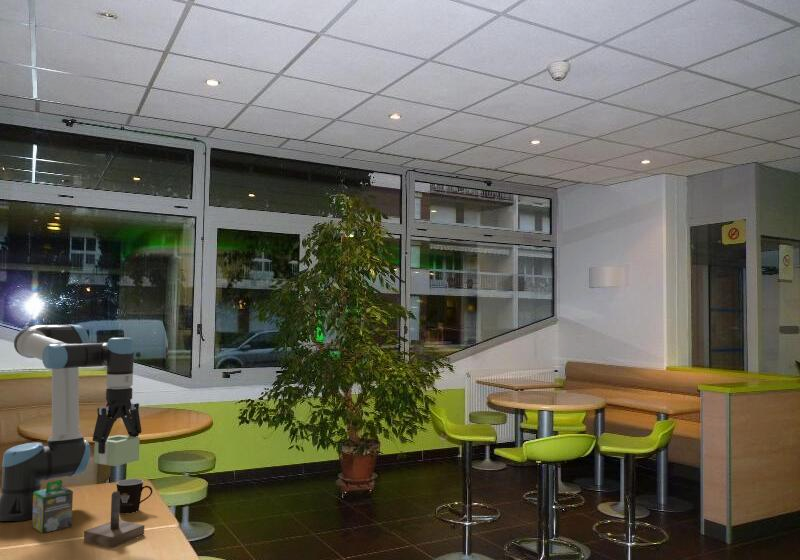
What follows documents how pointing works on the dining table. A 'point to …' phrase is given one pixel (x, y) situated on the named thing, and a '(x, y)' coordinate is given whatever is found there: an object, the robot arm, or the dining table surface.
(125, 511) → the coffee mug
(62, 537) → the dining table surface
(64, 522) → the chalk box
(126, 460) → the green square socket block
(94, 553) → the dining table surface
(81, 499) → the dining table surface
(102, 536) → the rod stand
